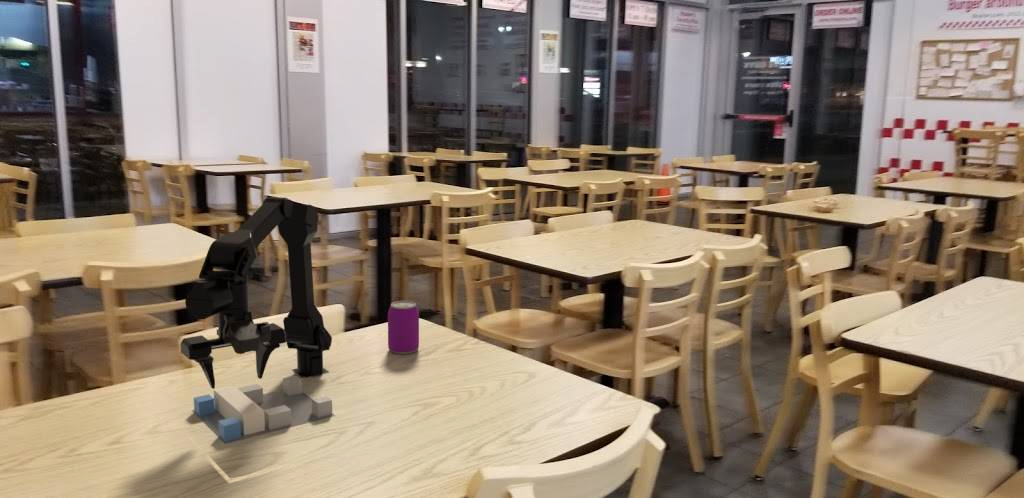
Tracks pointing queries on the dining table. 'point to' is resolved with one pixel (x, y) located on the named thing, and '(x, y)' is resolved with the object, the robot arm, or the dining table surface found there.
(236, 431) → the miniature block city
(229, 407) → the long white plank
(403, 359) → the dining table surface
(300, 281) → the robot arm
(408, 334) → the beverage can
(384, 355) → the dining table surface
